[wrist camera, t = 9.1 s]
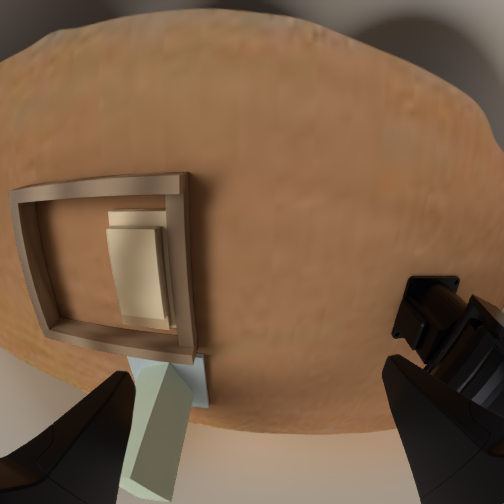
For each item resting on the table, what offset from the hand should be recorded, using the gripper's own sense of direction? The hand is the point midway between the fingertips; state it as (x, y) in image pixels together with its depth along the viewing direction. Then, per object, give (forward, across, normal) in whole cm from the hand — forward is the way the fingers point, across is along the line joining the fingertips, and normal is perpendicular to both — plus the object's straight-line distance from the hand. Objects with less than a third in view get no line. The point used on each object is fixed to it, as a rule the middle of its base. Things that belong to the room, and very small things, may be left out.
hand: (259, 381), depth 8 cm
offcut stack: (+14, +9, +2) cm, 16 cm away
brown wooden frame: (+14, +13, +2) cm, 19 cm away
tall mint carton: (+13, +9, +14) cm, 21 cm away
